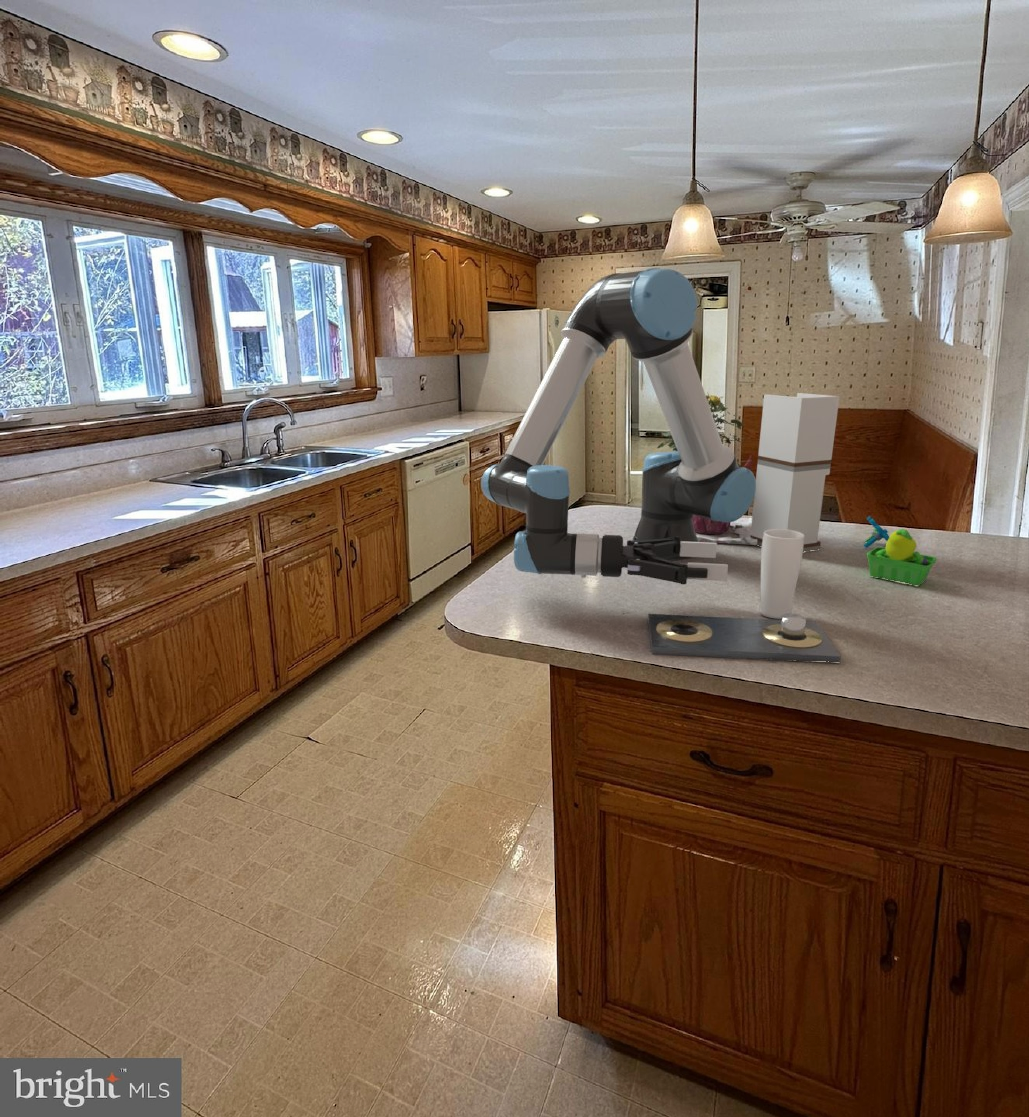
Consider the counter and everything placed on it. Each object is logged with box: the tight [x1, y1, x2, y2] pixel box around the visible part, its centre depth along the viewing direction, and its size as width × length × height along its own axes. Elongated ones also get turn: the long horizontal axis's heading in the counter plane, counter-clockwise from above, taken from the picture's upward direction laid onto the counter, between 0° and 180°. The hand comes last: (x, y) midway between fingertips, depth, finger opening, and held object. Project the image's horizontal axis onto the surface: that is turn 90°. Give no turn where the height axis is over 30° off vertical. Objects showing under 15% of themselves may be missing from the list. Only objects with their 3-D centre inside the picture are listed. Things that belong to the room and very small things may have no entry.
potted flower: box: [656, 391, 757, 546], centre depth 177 cm, size 27×25×35 cm
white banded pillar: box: [750, 392, 840, 552], centre depth 162 cm, size 11×11×35 cm
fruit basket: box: [866, 528, 937, 586], centre depth 142 cm, size 11×9×11 cm
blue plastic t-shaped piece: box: [862, 516, 890, 548], centre depth 165 cm, size 11×6×10 cm
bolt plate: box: [647, 613, 842, 663], centre depth 115 cm, size 28×14×4 cm, turn 82°
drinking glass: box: [759, 529, 804, 620], centre depth 124 cm, size 7×7×15 cm
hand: (721, 560), depth 124 cm, fingers open, 13 cm apart
